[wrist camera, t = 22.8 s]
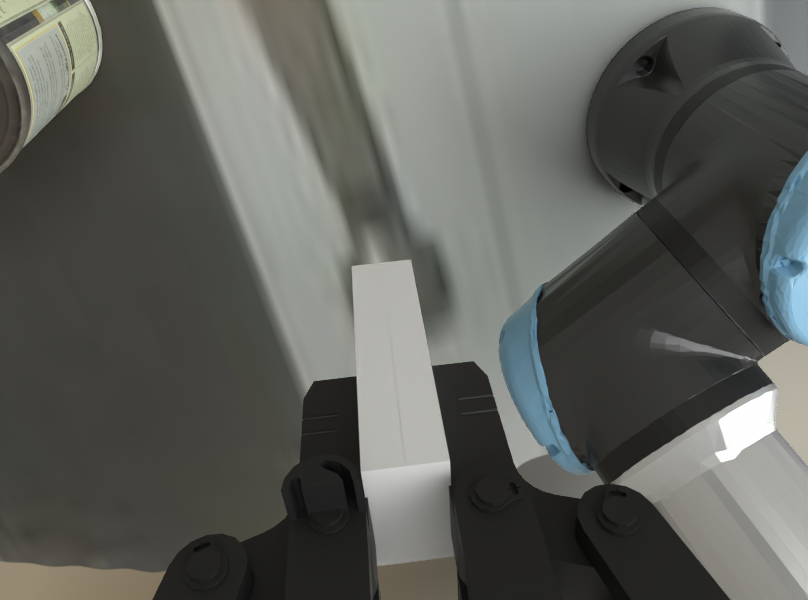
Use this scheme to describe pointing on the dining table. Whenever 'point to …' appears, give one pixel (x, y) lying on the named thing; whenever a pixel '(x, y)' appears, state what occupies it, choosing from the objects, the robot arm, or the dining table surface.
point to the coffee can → (42, 65)
